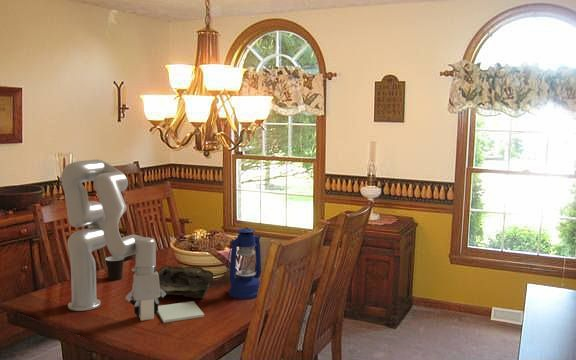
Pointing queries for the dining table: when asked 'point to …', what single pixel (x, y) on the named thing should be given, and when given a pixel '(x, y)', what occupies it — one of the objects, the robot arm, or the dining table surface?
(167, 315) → the sage mat
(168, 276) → the hollow geode rock
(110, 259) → the coffee mug
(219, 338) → the dining table surface
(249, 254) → the lantern
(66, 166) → the robot arm
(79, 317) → the dining table surface
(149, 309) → the cream block
